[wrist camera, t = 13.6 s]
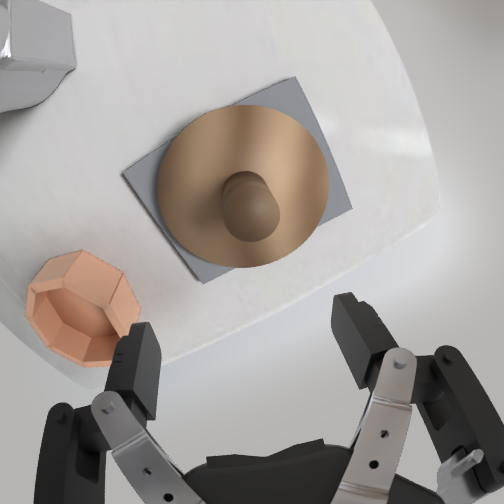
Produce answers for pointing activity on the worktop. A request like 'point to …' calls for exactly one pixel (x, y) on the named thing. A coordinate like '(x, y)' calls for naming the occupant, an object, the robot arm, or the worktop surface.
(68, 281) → the bowl
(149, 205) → the mat
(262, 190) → the lid
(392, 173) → the worktop surface
